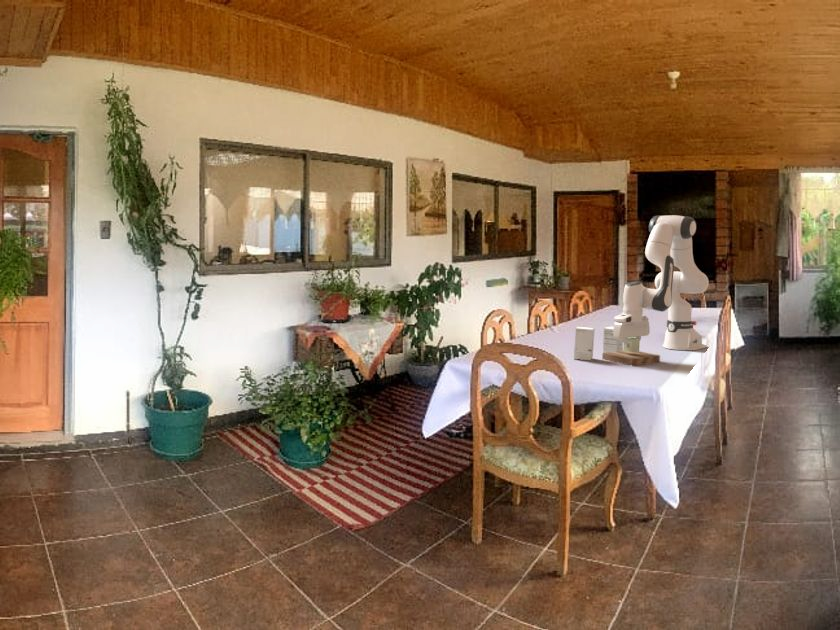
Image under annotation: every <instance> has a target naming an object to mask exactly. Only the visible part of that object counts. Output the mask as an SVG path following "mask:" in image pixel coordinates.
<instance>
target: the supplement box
mask: <svg viewBox="0 0 840 630" xmlns="http://www.w3.org/2000/svg"><path fill="white" fill-rule="evenodd" d="M613 330H614V326H611V325H610V326H608V327H607V326H606V327H603V343H602V344H603V346H602V347H603V348H602V350H603V351H602V354H603V353H606V352H614V351H622V350H623V346H624V343H623V341H622V339H618V338H615V337H614V335H613Z"/></svg>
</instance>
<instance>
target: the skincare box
mask: <svg viewBox="0 0 840 630" xmlns="http://www.w3.org/2000/svg"><path fill="white" fill-rule="evenodd" d="M595 329H596V328H595V327H584V326H577V327H575V332H574V333H575V335H574V349H573V350H574V351H573V360H577V359H580V360H579V361H592V360H593V359H592V358H593V357H594V345H595V343H594V342H595ZM591 359H592V360H591Z"/></svg>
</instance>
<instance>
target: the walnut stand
mask: <svg viewBox="0 0 840 630" xmlns="http://www.w3.org/2000/svg"><path fill="white" fill-rule="evenodd" d="M603 359H605V360H604V361H608V360H609V362H612V361H614V362H613V363H617V362H618V363H617V364H621V363H622V365H626V364H627V365H626V366H630V365H632V366H631V367H633V365H635V366H639V365H640V364H641V365H647V363H648V364H654V363H653V362H655V363H660V362H661V361H660V360H661V355H659V354H655V353H651V352H646V351H644V352H643V351H640V350H639V352H627V351H623V350H622V351H614V352H606V353H603V352H602V360H603Z"/></svg>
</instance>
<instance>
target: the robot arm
mask: <svg viewBox="0 0 840 630" xmlns="http://www.w3.org/2000/svg"><path fill="white" fill-rule="evenodd" d="M696 231H697V222H696V220H695V218H693V217H691V216H683V215H677V214H675V215H674V214H672V215H660V214H659V215H654V216H652V218H651V219H650V221H649V224H648V232H649V233H650V234H649V237H648V239H647V242H646V246H645V251H644V254H645V255H644V256H645V258H646V259H647V260H648V261H649V262H650V263H651V264H653V265H655V266H657V267H658V268H660V272H659V273H658V274H656V276H655V279H654V286H655V288H649V287H647V286H644V284H643V283H642V282H641V281H637V280H634V281H628V282H627V283H626V284H625V285H624V289H623V293H622V295H623V297H622V302H623V307H622V312H621V313H620V314H617V315H616V316H614V319H613V320H614V323H613V327H614V330H613V335H614V337H615V338H618V339H622V341H623V346H624V347H629V343H628V342H627V340H628V338H631V337H634V338H639V339H640V341H641V340H642V337H646V336H647V337H648V336H649V334H650V322H649V318H648V316H647V315H643V313H644V311H643V309H646V310H652V311H657V312H665V311H666V310H667V314H668V315H667V320H666V328H667V329H666V330H665V334H664V342H663V343H662V346H663V348H665V349H669V350H678V351H692V350H693V351H698V350H701V349H706V348H708V346H707V345H706V344H704V343H703V339H702V335H701V334H700V333H699V332H698V331H697V330H696V329H695V328H694V326H697V323H698V322H697V320H692V310H693V308H692V304H691V303H690V302H688V301H686V300H685V299H683V298H682V297H681V294H689V295H690V294H691V295H695V294H697V295H698V294H704V293H705V292H706V291H707V290H708V288H709V286H710V285H709V283H710V281H709V278H708V276H707V275H706V274H705V273H704V272H702V271H701V270H700V269H699V268H698V266H697V265H696V263H695V259H694V254H693V238H692V237H693V236H694V235H695V234H696ZM675 267H676V268H677V269H679V270H680V271H675V270H674V269H675Z"/></svg>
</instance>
